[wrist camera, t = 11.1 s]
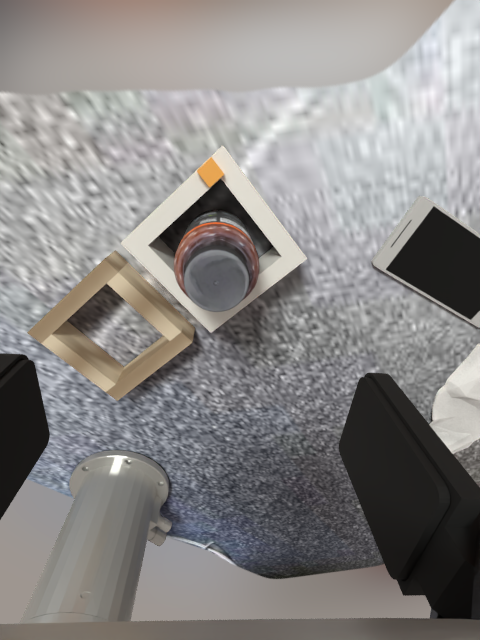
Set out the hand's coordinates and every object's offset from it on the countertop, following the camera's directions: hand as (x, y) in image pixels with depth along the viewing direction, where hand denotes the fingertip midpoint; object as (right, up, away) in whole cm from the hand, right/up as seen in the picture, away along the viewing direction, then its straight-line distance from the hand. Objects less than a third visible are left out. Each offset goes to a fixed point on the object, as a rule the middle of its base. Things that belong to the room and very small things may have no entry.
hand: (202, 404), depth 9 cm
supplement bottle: (-1, +10, +20) cm, 22 cm away
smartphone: (+22, +8, +23) cm, 33 cm away
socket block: (-1, +10, +20) cm, 22 cm away
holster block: (-11, +2, +23) cm, 26 cm away
